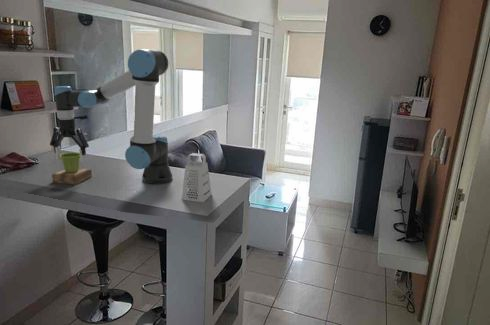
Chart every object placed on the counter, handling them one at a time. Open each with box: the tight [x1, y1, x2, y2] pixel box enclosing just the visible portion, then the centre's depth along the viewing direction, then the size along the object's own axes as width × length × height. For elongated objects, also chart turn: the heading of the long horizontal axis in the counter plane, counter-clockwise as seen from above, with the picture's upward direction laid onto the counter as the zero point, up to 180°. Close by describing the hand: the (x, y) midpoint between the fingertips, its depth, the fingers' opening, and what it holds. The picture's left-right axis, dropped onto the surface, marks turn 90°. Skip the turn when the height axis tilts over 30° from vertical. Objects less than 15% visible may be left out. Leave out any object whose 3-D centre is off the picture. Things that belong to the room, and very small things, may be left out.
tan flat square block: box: [51, 167, 93, 185], centre depth 190 cm, size 13×13×4 cm
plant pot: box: [60, 152, 80, 173], centre depth 188 cm, size 9×9×9 cm
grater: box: [181, 152, 213, 203], centre depth 168 cm, size 10×10×20 cm
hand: (71, 160), depth 187 cm, fingers open, 13 cm apart
